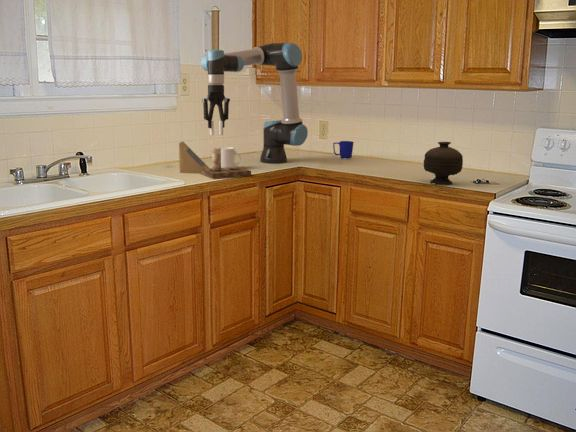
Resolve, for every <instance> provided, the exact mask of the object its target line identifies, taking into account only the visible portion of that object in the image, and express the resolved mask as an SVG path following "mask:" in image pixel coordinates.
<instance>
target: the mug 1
mask: <svg viewBox="0 0 576 432" xmlns="http://www.w3.org/2000/svg"><path fill="white" fill-rule="evenodd" d="M218 148H219V149H221V168H226V167H239V166H240V164H241V162H242V161H241V160H242V159H241V155H240V153H239V152H238V151H236V150H235V147H230V146H219V147H218ZM235 155H236V156H238V157H239V161H238V162H236V161H235V160H236V159H235Z"/></svg>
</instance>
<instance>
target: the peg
mask: <svg viewBox="0 0 576 432" xmlns="http://www.w3.org/2000/svg"><path fill="white" fill-rule="evenodd" d="M211 164H212V165H211V168H212V172H220V171H221V149H219V147H217V148H216V147H215V148H212V149H211Z"/></svg>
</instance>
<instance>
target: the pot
mask: <svg viewBox="0 0 576 432" xmlns="http://www.w3.org/2000/svg"><path fill="white" fill-rule="evenodd" d="M437 144H438V145H439V146H436V147H433V148H430V149H429V150H427V151H426V152H425V154H424V160H423V169H424V170H425V172H428V173H431V174H433V175H435V177H434V178H433V179H431V180H430V182H431V183H430V182H429V183H430V184H432V183H435V184H434V185H437V184H452V185H453V181H451V180H450V179H449V176H455V175H457V174H459V173H461V171H462V169H463V167H464V159H463V154H462V153H461V152H460V151H459V150H458V149H456V148H453V147H450V146H449V145H451V144H452V142H451V141H439V142H437Z"/></svg>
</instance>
